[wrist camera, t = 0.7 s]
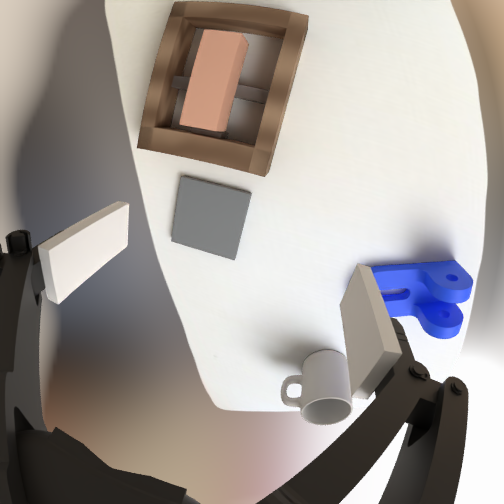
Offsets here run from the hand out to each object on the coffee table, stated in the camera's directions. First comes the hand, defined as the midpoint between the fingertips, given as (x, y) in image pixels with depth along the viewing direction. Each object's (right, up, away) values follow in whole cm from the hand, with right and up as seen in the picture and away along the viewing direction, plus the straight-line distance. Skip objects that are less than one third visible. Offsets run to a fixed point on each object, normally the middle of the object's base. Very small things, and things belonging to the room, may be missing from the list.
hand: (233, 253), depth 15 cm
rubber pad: (-5, +5, +25) cm, 26 cm away
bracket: (+25, -5, +25) cm, 36 cm away
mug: (+13, -21, +34) cm, 42 cm away
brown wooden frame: (-3, +22, +18) cm, 28 cm away
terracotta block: (-3, +21, +15) cm, 26 cm away
